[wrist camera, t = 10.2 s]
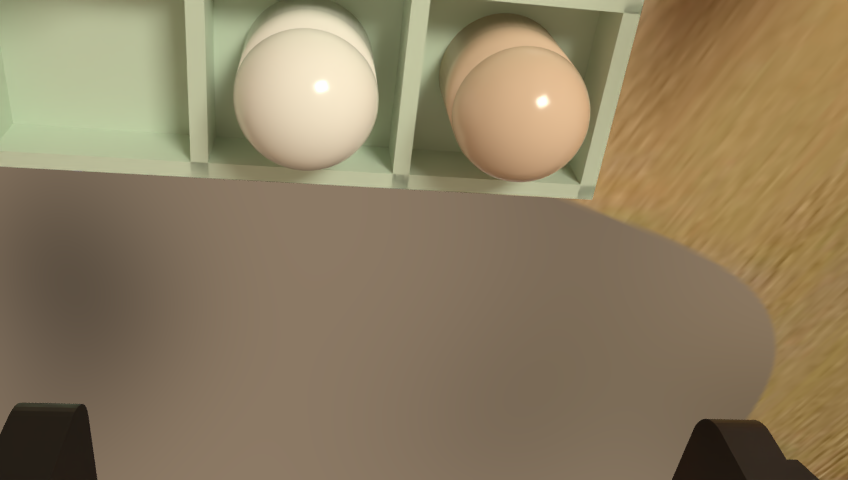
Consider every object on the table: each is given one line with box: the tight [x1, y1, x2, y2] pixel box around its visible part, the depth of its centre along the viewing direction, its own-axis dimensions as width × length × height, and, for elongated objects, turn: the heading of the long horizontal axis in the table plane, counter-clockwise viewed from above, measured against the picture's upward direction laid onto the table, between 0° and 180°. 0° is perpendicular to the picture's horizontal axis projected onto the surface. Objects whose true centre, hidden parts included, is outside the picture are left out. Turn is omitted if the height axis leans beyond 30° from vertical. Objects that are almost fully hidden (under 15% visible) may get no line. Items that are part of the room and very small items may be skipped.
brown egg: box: [439, 13, 590, 182], centre depth 27 cm, size 5×5×6 cm
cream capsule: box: [233, 0, 379, 171], centre depth 26 cm, size 5×5×6 cm
